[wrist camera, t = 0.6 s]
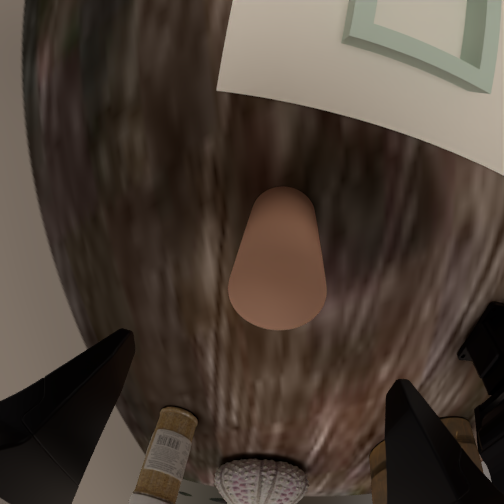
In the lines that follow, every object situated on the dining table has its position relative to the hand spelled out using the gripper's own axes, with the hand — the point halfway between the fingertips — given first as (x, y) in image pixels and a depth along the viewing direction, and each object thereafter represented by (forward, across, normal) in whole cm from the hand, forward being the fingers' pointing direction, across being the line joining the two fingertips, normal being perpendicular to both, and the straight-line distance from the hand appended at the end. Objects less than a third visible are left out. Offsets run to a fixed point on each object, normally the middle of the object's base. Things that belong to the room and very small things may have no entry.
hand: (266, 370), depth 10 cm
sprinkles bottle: (+12, +6, +26) cm, 29 cm away
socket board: (+12, -5, -15) cm, 20 cm away
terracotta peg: (+12, 0, 0) cm, 12 cm away
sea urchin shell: (+12, -5, +38) cm, 40 cm away
